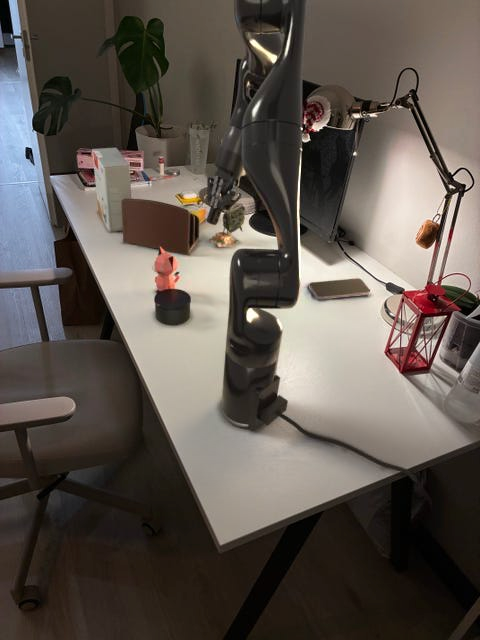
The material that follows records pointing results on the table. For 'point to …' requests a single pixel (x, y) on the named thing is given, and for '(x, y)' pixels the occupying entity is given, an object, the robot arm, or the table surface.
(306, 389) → the table surface
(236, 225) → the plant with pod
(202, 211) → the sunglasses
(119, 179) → the hard drive box
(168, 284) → the cat figurine
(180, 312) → the steel tin
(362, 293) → the smartphone
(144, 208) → the letter holder
